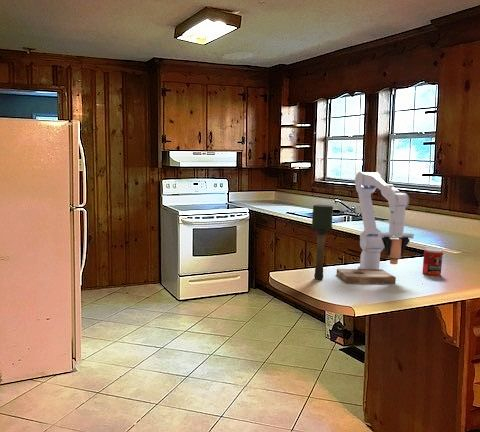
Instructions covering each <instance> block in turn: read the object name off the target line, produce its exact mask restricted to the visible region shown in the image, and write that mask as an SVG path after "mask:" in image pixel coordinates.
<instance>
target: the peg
mask: <svg viewBox="0 0 480 432" xmlns="http://www.w3.org/2000/svg"><path fill="white" fill-rule="evenodd" d="M390 239H391V240H392V243H391V247H390V256H387V258H388V259H389V264H390V265H398V262H399V260H401V257H402V256H401V246H402V240H401V239H399V238H390Z"/></svg>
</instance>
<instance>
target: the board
mask: <svg viewBox="0 0 480 432" xmlns="http://www.w3.org/2000/svg"><path fill="white" fill-rule="evenodd" d="M336 276H337V277H338V278H340V277H341V278H342V280H343V281H344V282H345V283H346V282H347V283H346V284H396V281H397V280H396V279H397V277H396V276H394V275H392V274H391V273H389V272H388V271H386V270H384V269H381V268H379V269H359V268H336ZM341 278H340V279H341Z"/></svg>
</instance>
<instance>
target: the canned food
mask: <svg viewBox="0 0 480 432" xmlns="http://www.w3.org/2000/svg"><path fill="white" fill-rule="evenodd" d="M443 255H444V251H443V249H441V248H437V247H425V248H424V251H423V262H422V274H424V275H426V276H430V277H439V276H441V274H442V268H443V267H442V266H443Z"/></svg>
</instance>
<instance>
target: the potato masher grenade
mask: <svg viewBox="0 0 480 432" xmlns="http://www.w3.org/2000/svg"><path fill="white" fill-rule="evenodd" d="M333 211H334V206H332V205H329V204H314V205H313V207H312V217H311V218H312V221H311V225H310V228H312V229H316V234H317V236H316V245H317V246H316V248H317V249H316V262H315V263H316V265H315V269H314V273H313V274H314V276H313V277H314V279H315V280H318V281H321V280H323V279H324V254H325V253H324V252H325V243H326V233H327V230H333V228H334V227H333Z"/></svg>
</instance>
